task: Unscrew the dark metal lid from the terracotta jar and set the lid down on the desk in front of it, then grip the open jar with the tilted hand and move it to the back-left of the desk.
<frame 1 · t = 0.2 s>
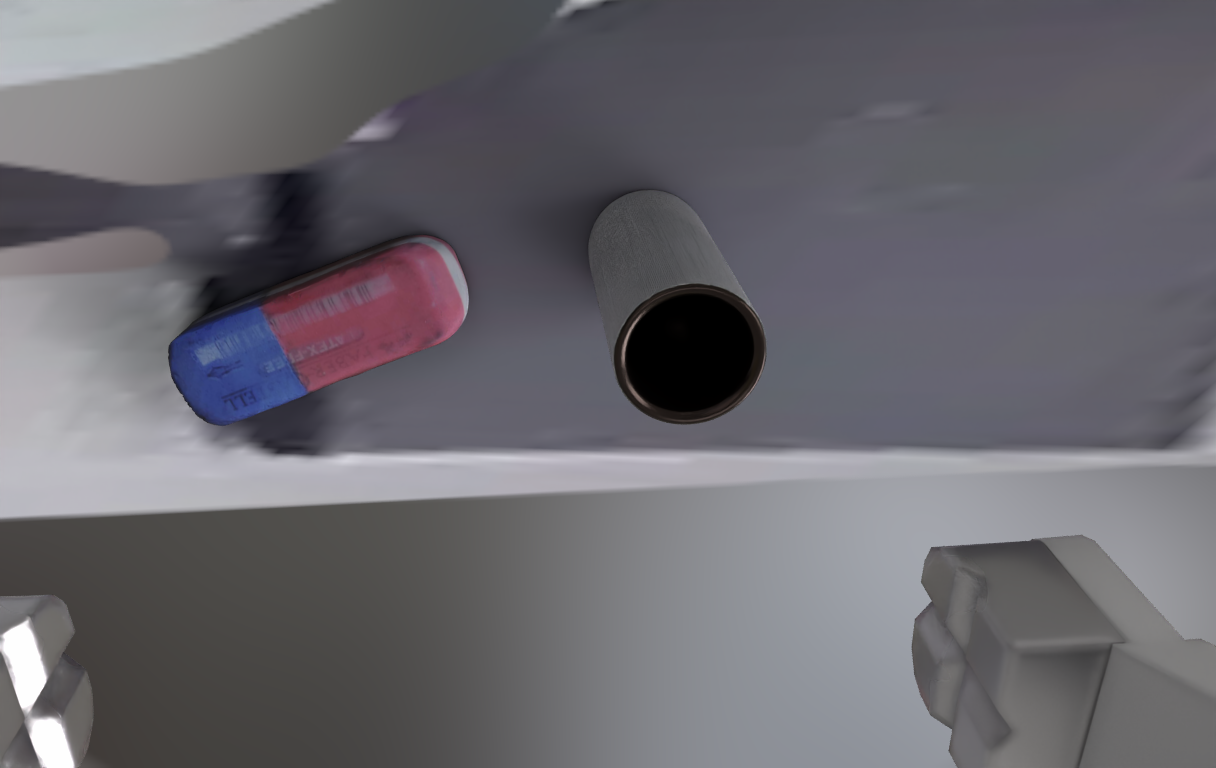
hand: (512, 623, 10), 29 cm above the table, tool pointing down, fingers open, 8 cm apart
planter: (646, 245, 39), on the table
eraser: (327, 319, 39), on the table
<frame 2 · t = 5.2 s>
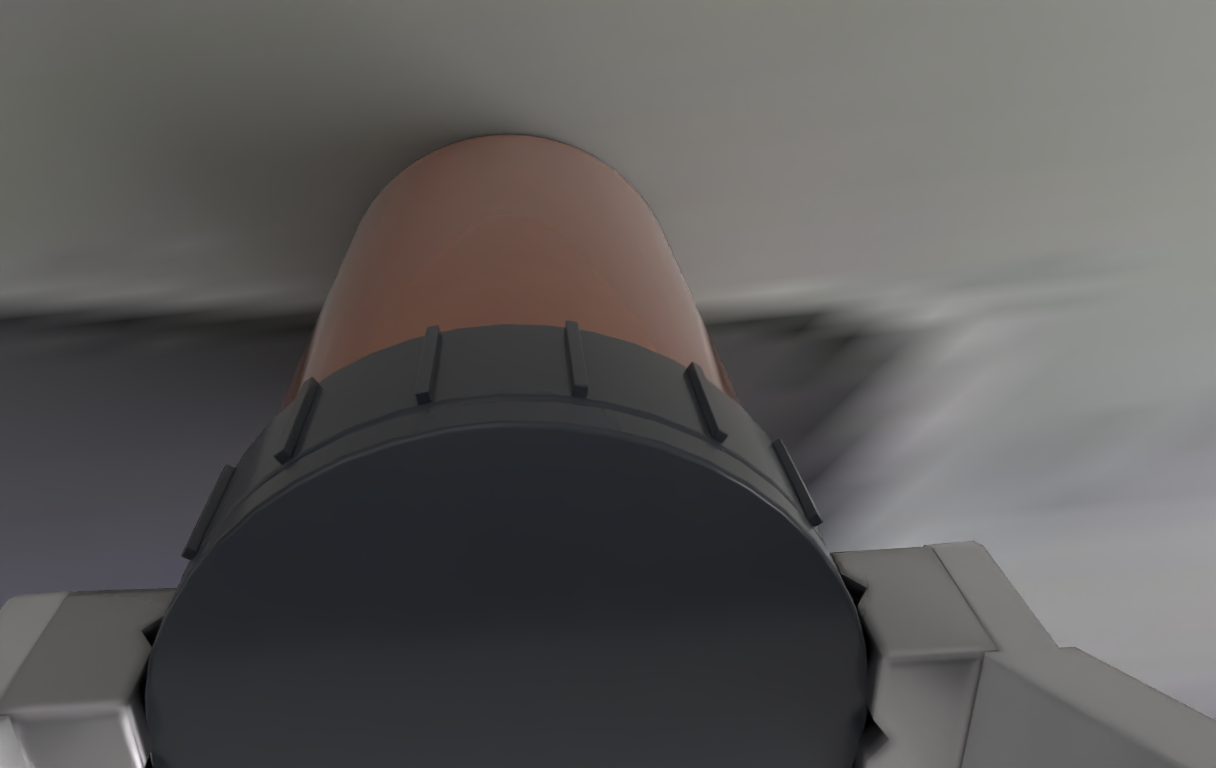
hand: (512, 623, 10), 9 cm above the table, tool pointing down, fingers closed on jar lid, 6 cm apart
jar lid: (518, 705, 9), point 10 cm above the table, screwed on, not yet turned, touching gripper
jar: (512, 298, 17), on the table
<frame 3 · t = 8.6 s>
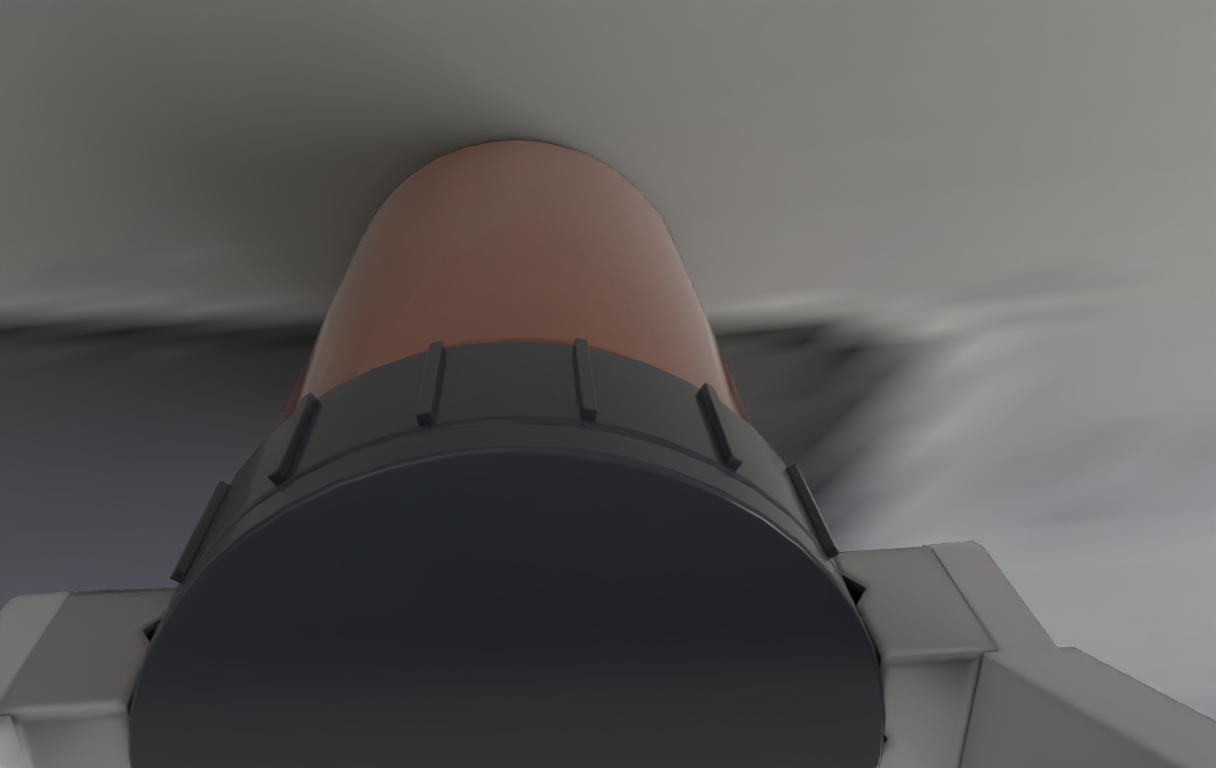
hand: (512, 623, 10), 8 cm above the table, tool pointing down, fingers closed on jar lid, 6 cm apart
jar lid: (518, 738, 8), point 10 cm above the table, turned 89° so far, risen 0.1 cm, still on its thread, touching gripper
jar: (519, 305, 17), on the table
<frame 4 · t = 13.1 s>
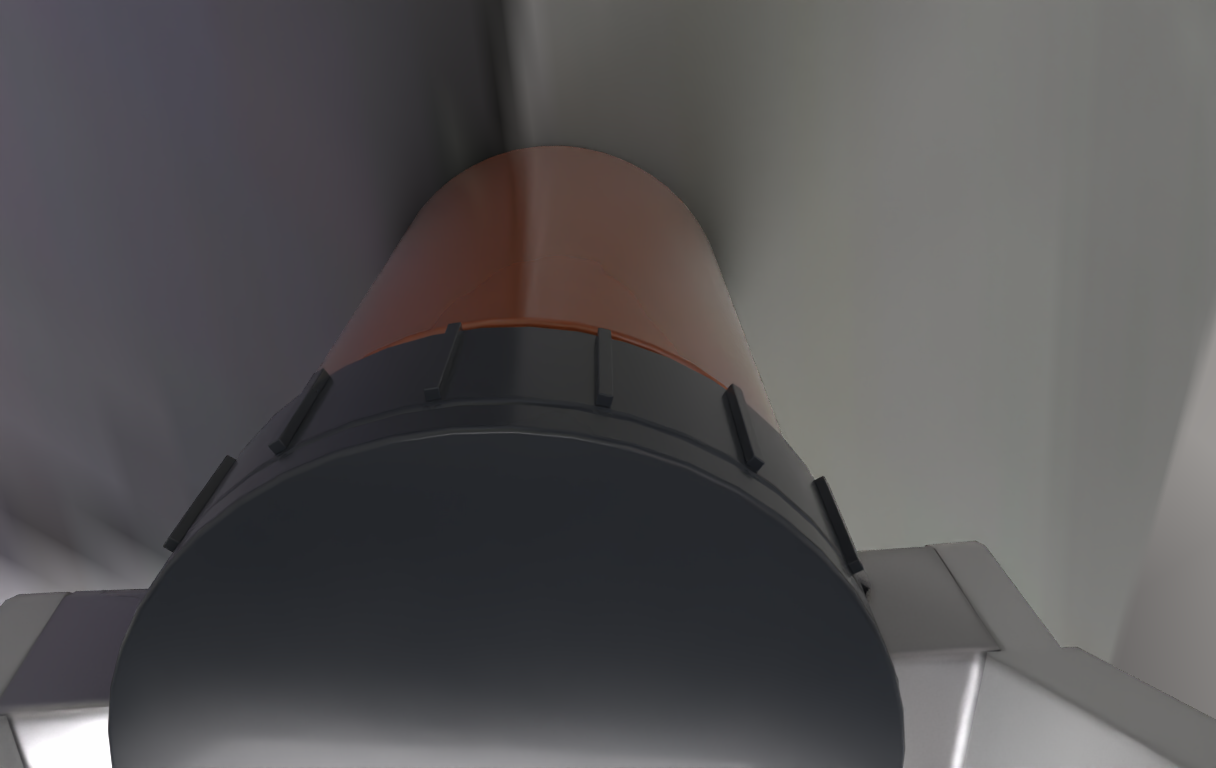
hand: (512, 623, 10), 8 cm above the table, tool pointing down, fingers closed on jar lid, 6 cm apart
jar lid: (513, 744, 8), point 10 cm above the table, turned 255° so far, risen 0.3 cm, still on its thread, touching gripper
jar: (557, 312, 17), on the table, touching gripper
when the fingers open (7 cm above the table, at t = 14.2 s): jar lid stays where it is, point 10 cm above the table.
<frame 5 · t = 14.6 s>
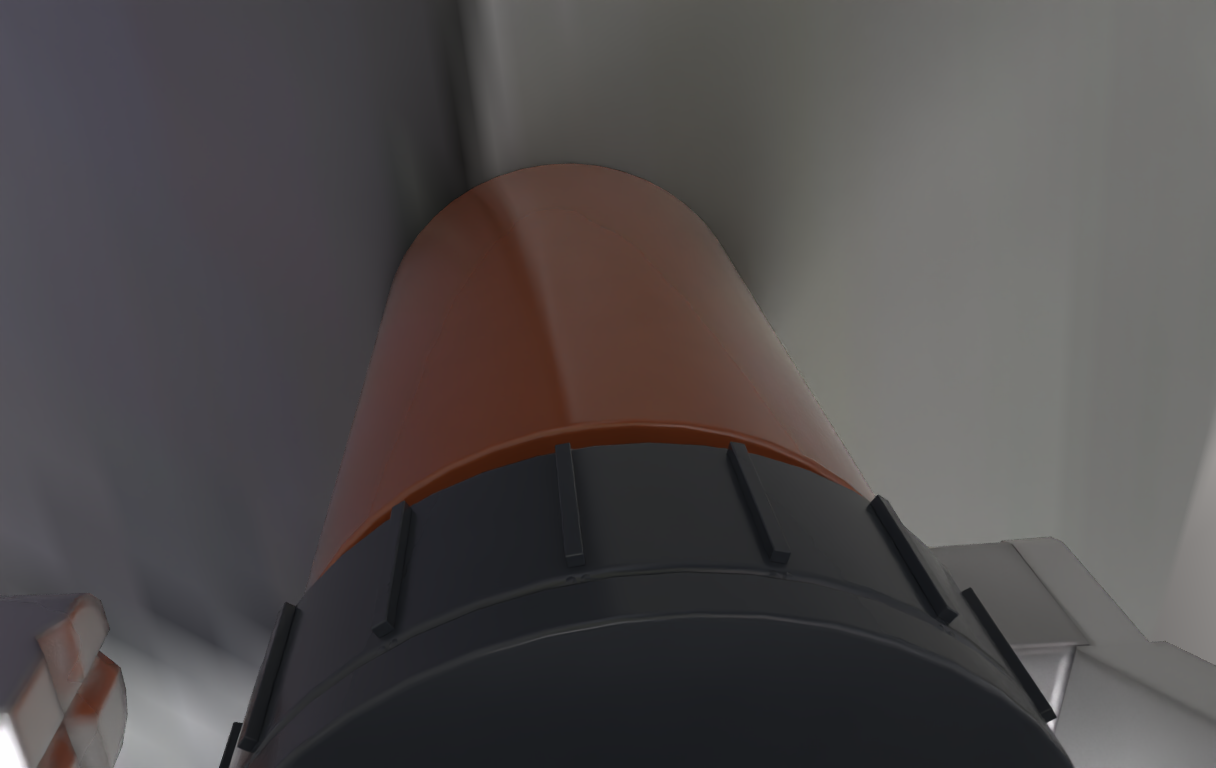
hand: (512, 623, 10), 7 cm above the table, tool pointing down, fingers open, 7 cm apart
jar: (566, 340, 16), on the table, touching gripper
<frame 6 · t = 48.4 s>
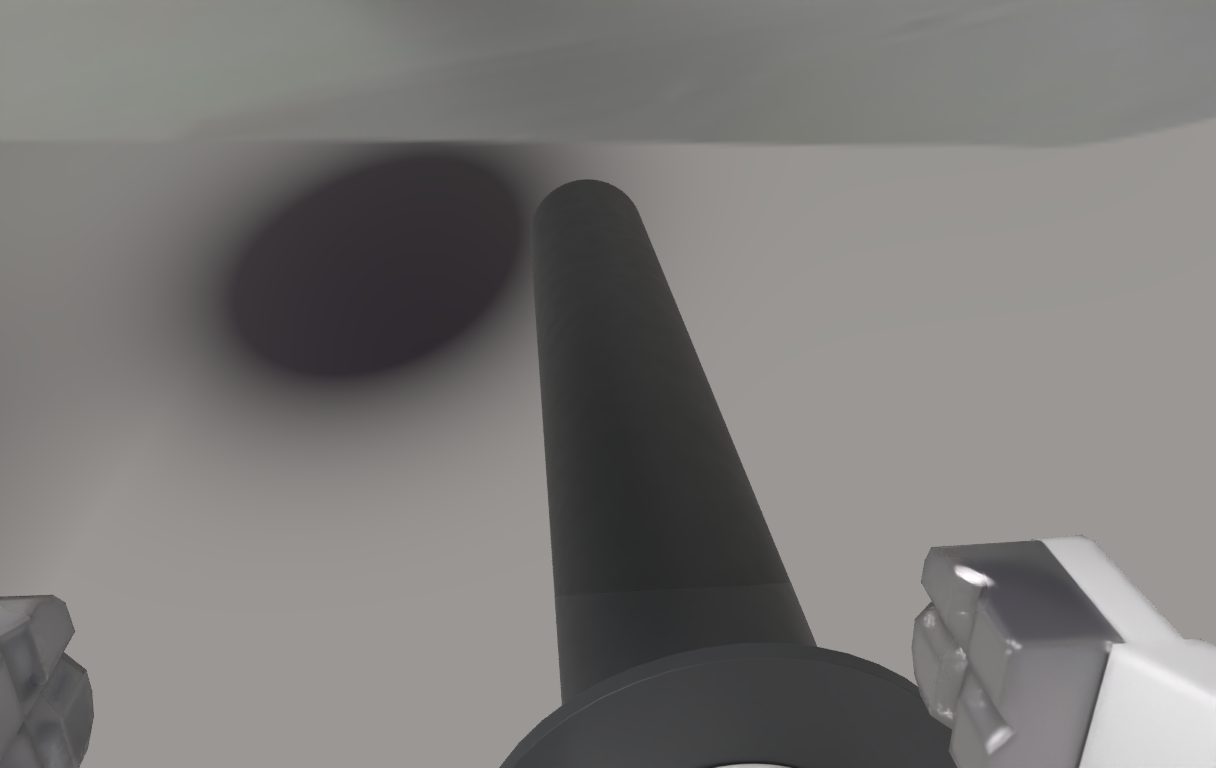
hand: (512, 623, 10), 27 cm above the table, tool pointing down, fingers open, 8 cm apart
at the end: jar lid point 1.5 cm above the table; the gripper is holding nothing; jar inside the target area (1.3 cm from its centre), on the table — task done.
